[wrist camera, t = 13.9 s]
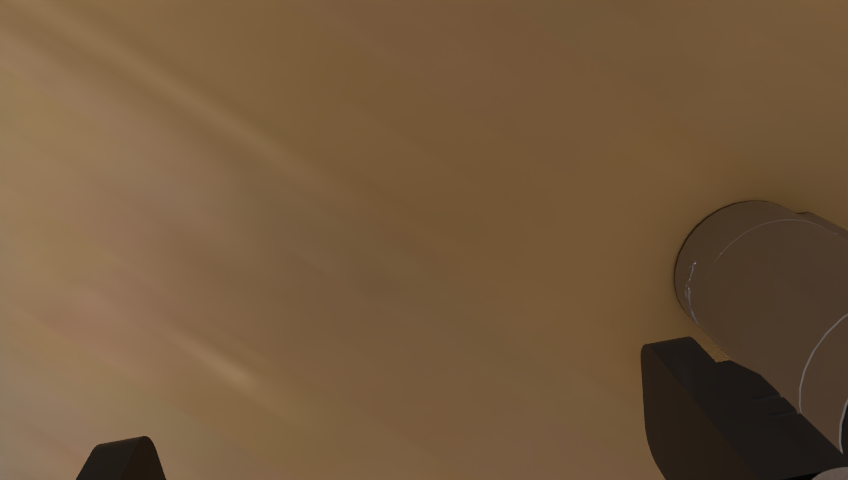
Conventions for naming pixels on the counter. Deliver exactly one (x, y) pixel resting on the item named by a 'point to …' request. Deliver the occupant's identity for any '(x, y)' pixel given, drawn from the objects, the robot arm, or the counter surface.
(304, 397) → the counter surface
